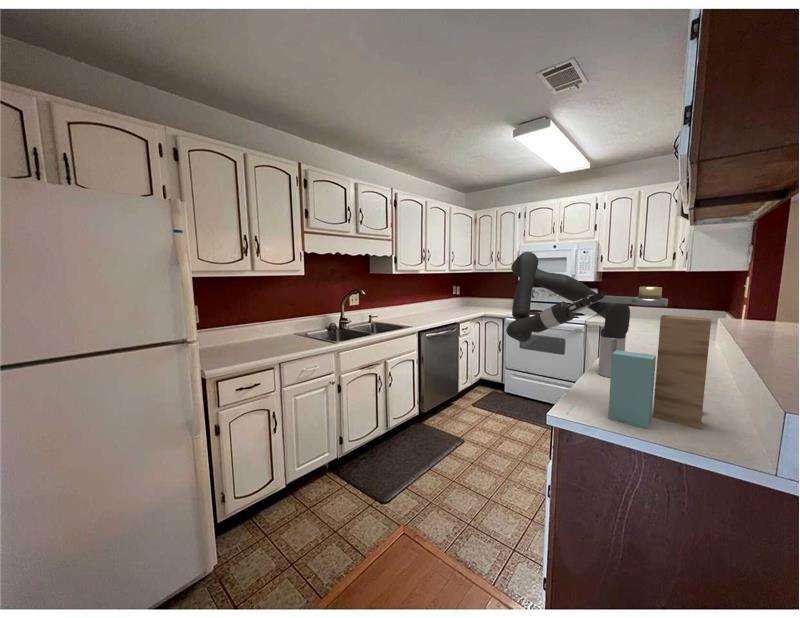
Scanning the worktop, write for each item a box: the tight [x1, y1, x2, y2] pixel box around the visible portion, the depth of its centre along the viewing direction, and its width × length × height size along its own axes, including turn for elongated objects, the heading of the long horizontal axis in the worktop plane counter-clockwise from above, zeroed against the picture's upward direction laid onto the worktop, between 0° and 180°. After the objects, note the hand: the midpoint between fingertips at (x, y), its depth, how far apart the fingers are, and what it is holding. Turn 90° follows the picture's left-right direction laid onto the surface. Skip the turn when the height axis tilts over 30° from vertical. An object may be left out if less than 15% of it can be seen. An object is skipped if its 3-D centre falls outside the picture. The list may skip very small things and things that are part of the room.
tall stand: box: [652, 314, 712, 430], centre depth 97 cm, size 6×11×32 cm, turn 45°
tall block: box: [607, 350, 657, 430], centre depth 98 cm, size 6×10×21 cm, turn 45°
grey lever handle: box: [588, 286, 669, 308], centre depth 104 cm, size 9×22×6 cm, turn 45°
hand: (603, 294), depth 109 cm, fingers closed on grey lever handle, 3 cm apart
